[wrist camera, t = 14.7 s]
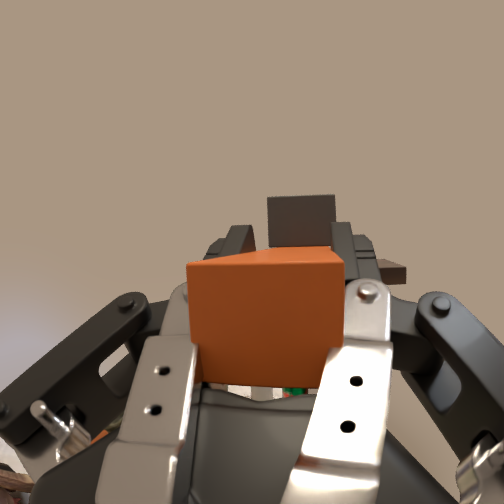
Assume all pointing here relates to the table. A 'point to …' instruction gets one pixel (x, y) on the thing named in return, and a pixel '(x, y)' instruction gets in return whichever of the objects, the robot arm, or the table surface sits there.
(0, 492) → the toy
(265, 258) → the hammer with orange handle
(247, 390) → the table surface
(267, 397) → the beverage can
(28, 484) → the fragment
